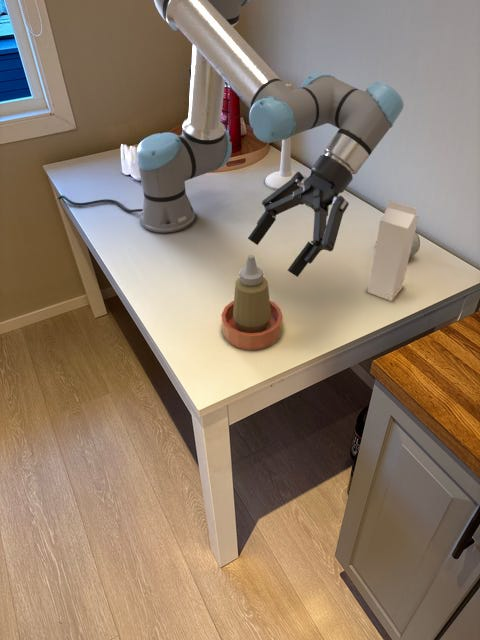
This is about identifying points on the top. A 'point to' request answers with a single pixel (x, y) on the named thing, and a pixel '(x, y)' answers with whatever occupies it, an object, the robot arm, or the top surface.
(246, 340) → the holder
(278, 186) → the candlestick
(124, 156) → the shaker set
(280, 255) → the top surface
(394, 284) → the milk
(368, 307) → the top surface
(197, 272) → the top surface
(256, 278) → the squeeze bottle
